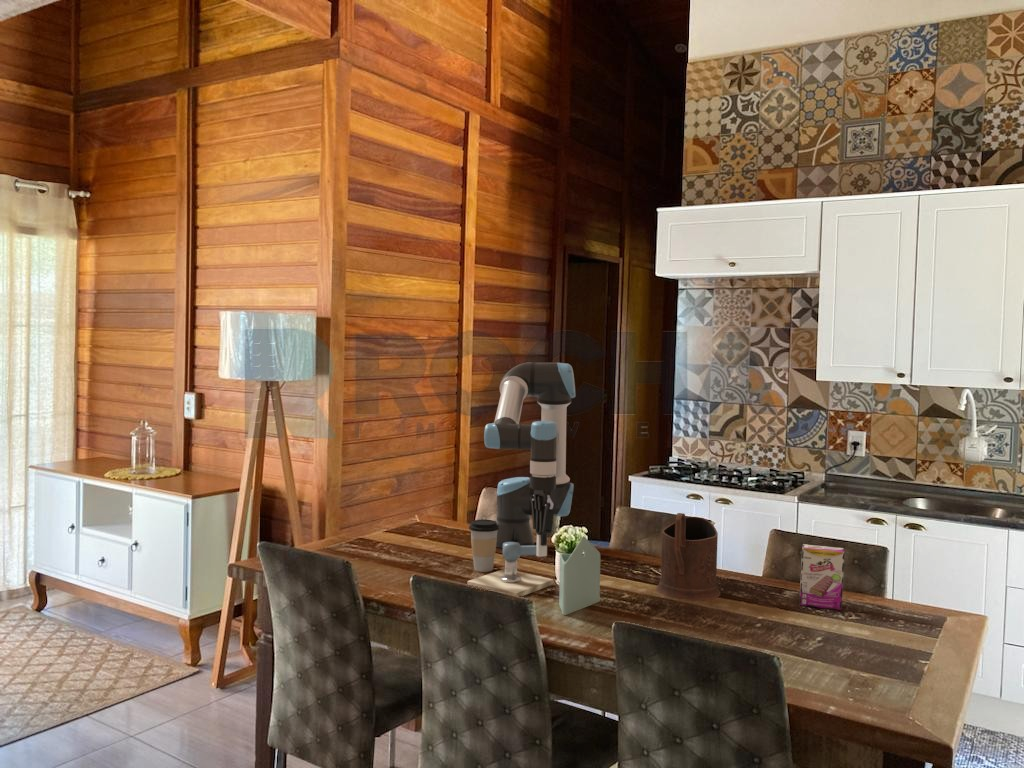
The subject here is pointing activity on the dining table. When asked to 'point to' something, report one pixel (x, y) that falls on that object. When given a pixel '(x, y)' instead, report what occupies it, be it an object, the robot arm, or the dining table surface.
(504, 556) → the cap
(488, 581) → the base board
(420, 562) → the dining table surface
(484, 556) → the coffee cup
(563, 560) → the planter
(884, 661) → the dining table surface
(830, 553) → the candy bar box
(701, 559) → the rusty brown jug
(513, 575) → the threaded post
